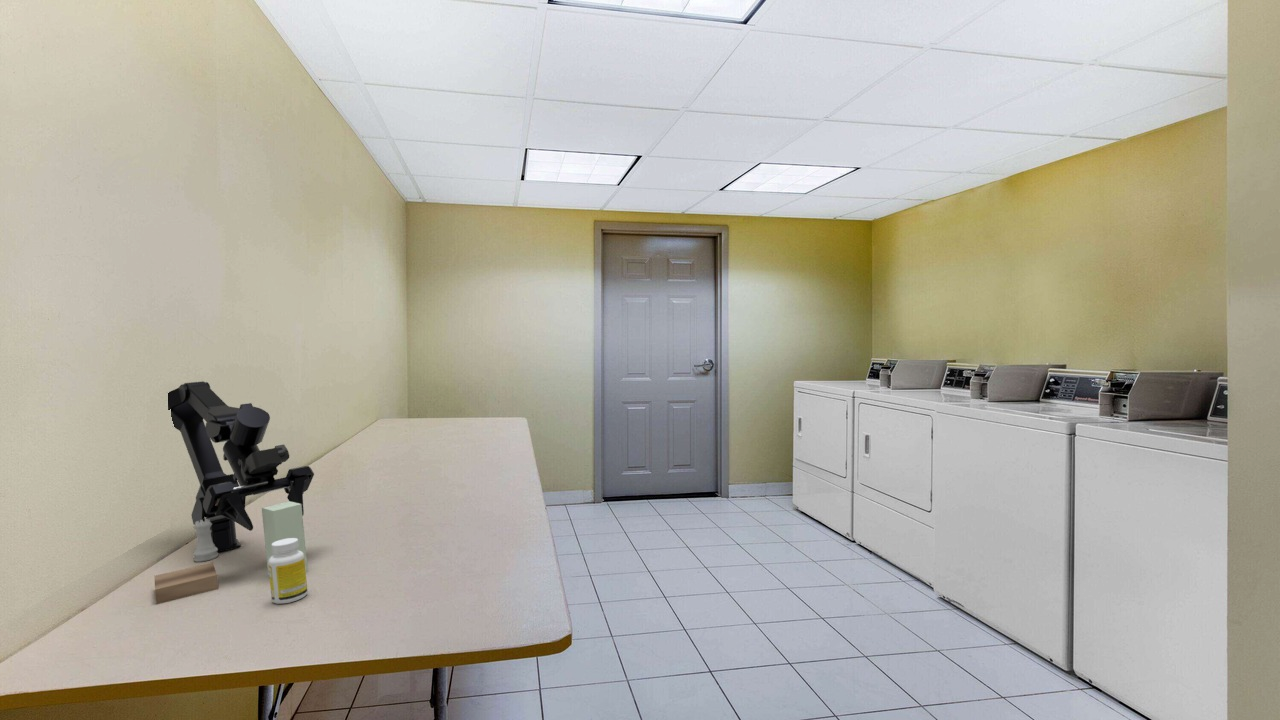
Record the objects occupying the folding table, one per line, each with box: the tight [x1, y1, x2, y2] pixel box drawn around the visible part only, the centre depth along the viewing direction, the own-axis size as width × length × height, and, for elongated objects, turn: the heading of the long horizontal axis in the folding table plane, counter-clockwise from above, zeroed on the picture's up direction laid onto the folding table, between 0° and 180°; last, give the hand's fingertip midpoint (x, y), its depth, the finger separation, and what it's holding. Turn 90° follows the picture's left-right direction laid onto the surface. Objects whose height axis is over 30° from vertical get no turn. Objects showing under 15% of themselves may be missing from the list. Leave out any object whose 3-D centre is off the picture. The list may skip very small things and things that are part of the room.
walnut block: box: [154, 562, 219, 605], centre depth 118 cm, size 9×9×3 cm
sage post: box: [261, 500, 309, 576], centre depth 122 cm, size 5×5×13 cm
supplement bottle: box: [268, 538, 308, 605], centre depth 110 cm, size 5×5×10 cm
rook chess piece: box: [192, 519, 220, 563], centre depth 135 cm, size 4×4×8 cm
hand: (277, 522), depth 123 cm, fingers open, 9 cm apart
